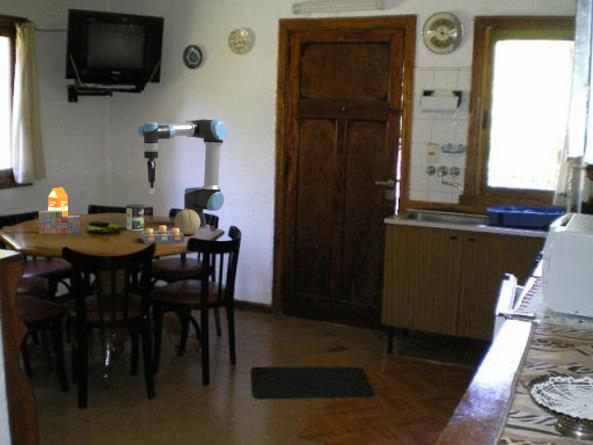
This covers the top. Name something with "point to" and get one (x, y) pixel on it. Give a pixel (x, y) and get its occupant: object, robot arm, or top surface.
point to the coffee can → (135, 217)
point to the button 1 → (149, 231)
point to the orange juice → (58, 201)
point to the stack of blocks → (57, 223)
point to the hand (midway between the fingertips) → (151, 193)
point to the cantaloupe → (187, 221)
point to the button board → (162, 237)
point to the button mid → (162, 229)
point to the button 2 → (175, 230)
